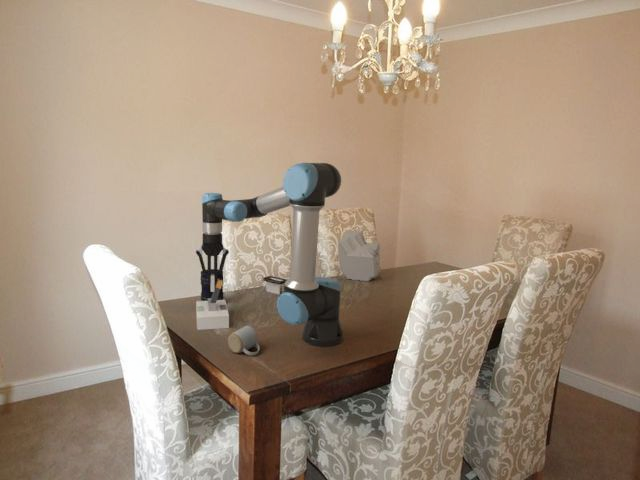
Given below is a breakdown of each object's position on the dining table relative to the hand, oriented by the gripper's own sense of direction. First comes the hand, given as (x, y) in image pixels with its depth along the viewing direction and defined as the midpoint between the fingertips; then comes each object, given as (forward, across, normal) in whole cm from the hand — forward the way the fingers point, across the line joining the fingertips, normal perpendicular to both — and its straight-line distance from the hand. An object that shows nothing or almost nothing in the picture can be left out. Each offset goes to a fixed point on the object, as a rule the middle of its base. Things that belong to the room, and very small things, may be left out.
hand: (212, 290), depth 186 cm
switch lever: (+6, 0, 0) cm, 6 cm away
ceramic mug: (+13, -10, +32) cm, 36 cm away
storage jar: (+13, -1, -20) cm, 24 cm away
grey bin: (+13, -32, -34) cm, 48 cm away
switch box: (+12, 0, 0) cm, 12 cm away
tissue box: (+12, -82, -50) cm, 97 cm away
